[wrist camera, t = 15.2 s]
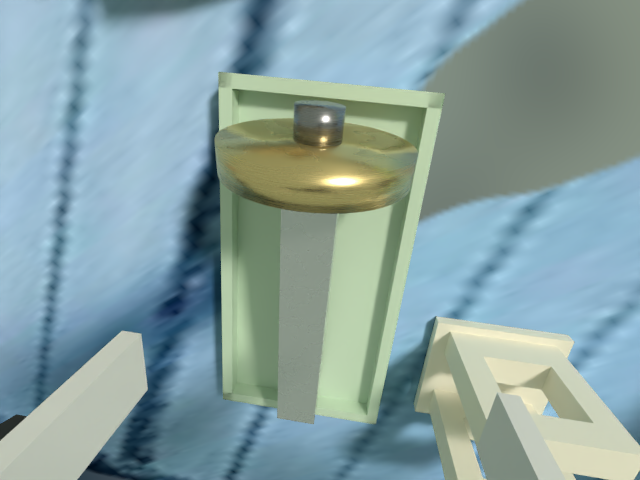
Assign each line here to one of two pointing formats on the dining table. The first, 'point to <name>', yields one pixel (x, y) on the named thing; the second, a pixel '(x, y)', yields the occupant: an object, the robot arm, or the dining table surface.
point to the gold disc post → (310, 216)
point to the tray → (349, 258)
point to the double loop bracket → (534, 389)
